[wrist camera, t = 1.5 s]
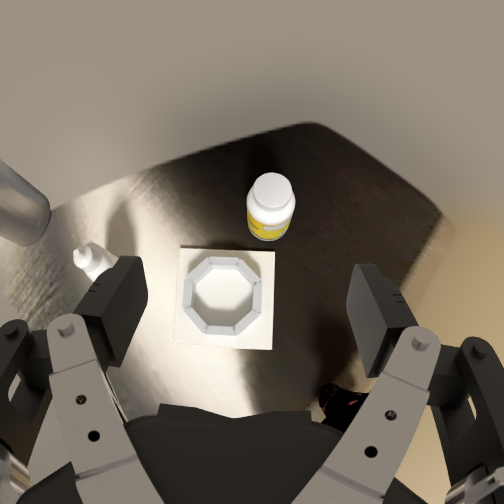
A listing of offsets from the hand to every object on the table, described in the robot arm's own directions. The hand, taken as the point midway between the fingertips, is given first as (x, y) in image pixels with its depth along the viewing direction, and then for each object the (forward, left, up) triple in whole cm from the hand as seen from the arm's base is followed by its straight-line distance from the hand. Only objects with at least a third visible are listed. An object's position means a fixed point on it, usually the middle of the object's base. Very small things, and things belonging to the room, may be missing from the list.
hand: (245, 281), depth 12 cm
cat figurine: (+11, -11, -27) cm, 31 cm away
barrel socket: (-3, +2, -27) cm, 27 cm away
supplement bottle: (+2, +12, -27) cm, 30 cm away
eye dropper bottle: (-17, +4, -27) cm, 32 cm away
